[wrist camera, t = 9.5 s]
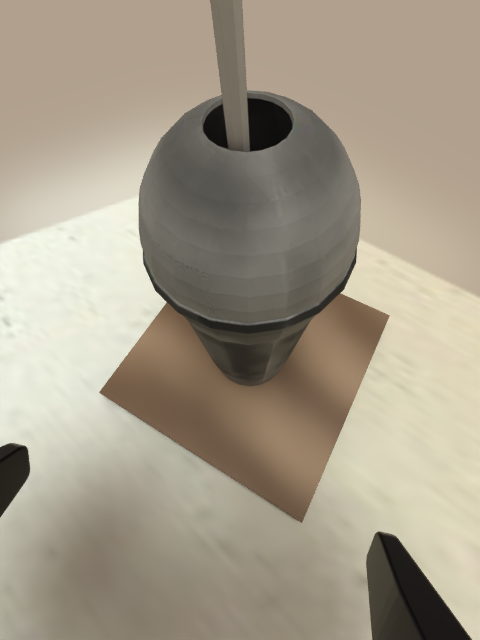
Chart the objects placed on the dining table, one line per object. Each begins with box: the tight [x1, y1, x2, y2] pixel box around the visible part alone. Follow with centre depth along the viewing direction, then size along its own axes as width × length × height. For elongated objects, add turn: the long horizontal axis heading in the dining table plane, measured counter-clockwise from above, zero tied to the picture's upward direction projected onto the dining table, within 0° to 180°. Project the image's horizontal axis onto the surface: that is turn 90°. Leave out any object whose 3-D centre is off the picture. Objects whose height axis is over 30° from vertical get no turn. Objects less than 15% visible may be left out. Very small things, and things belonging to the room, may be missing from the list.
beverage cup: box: [139, 0, 361, 386], centre depth 12 cm, size 7×7×20 cm
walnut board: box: [99, 294, 390, 523], centre depth 22 cm, size 14×14×1 cm
